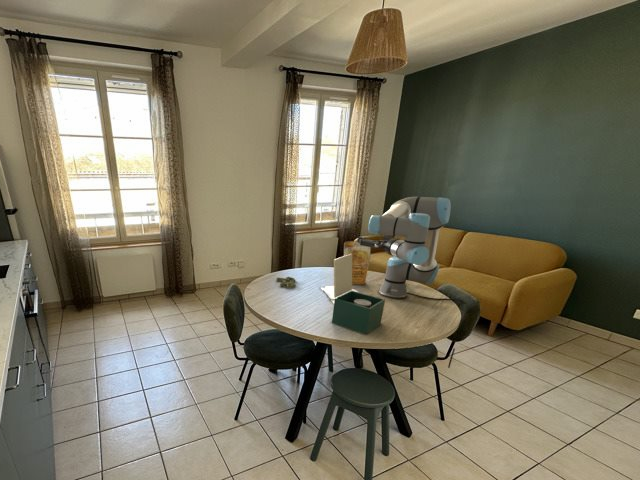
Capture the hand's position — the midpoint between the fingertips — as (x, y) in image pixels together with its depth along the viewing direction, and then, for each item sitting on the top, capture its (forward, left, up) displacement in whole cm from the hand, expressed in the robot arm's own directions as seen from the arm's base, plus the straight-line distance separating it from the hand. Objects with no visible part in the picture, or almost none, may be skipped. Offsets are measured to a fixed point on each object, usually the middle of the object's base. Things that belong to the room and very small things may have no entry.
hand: (371, 238), depth 161 cm
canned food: (+7, +15, -39) cm, 42 cm away
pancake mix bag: (-17, -47, -39) cm, 63 cm away
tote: (+8, +13, -39) cm, 42 cm away
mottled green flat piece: (+28, -49, -39) cm, 69 cm away
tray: (-1, -25, -39) cm, 46 cm away
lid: (+14, +6, -17) cm, 23 cm away
